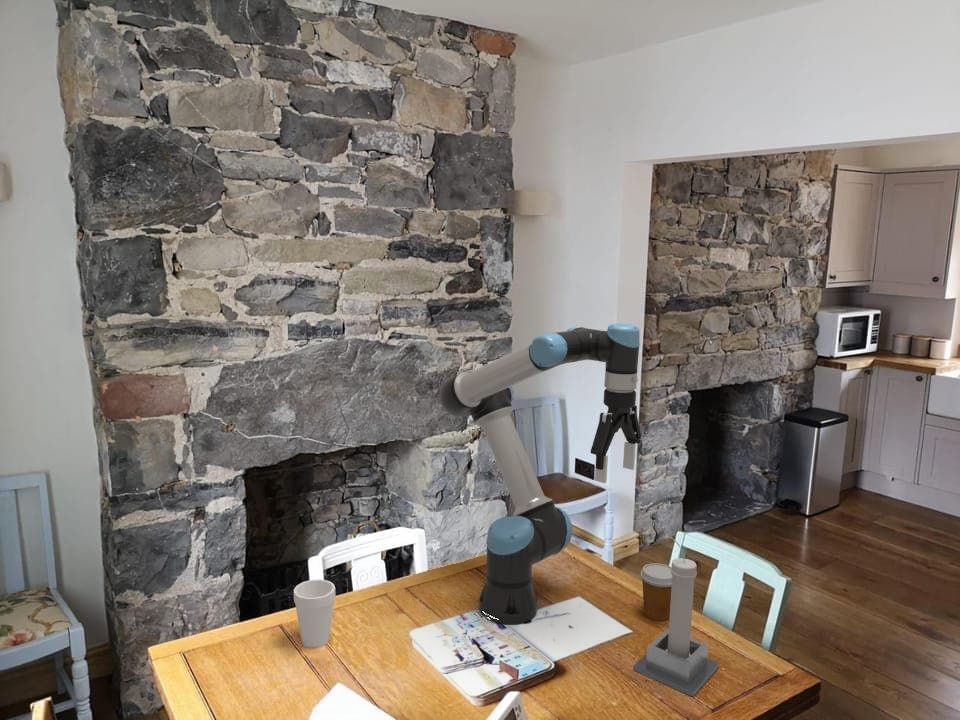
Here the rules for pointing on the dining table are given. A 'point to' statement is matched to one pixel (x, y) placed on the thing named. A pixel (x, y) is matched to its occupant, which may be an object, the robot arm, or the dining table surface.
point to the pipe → (681, 606)
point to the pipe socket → (677, 665)
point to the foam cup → (314, 611)
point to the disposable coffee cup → (657, 590)
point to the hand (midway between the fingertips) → (614, 474)
